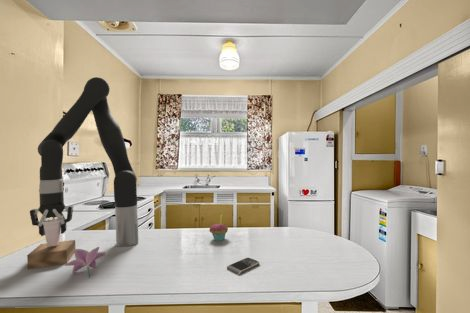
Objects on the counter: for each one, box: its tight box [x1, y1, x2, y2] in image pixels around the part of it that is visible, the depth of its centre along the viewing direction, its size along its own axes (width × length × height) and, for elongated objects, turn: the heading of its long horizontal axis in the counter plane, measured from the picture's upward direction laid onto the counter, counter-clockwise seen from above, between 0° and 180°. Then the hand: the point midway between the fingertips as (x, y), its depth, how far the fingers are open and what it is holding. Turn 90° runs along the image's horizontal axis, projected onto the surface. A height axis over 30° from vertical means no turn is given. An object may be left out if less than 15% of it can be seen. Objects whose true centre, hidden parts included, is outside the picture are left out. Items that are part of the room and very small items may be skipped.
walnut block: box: [26, 239, 76, 270], centre depth 96 cm, size 12×12×5 cm
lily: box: [63, 246, 110, 279], centre depth 83 cm, size 12×12×10 cm
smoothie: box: [42, 217, 61, 246], centre depth 96 cm, size 6×6×14 cm
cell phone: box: [226, 257, 260, 275], centre depth 85 cm, size 6×11×1 cm, turn 132°
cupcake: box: [208, 213, 229, 242], centre depth 114 cm, size 9×8×12 cm
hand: (53, 234), depth 96 cm, fingers closed on smoothie, 6 cm apart
